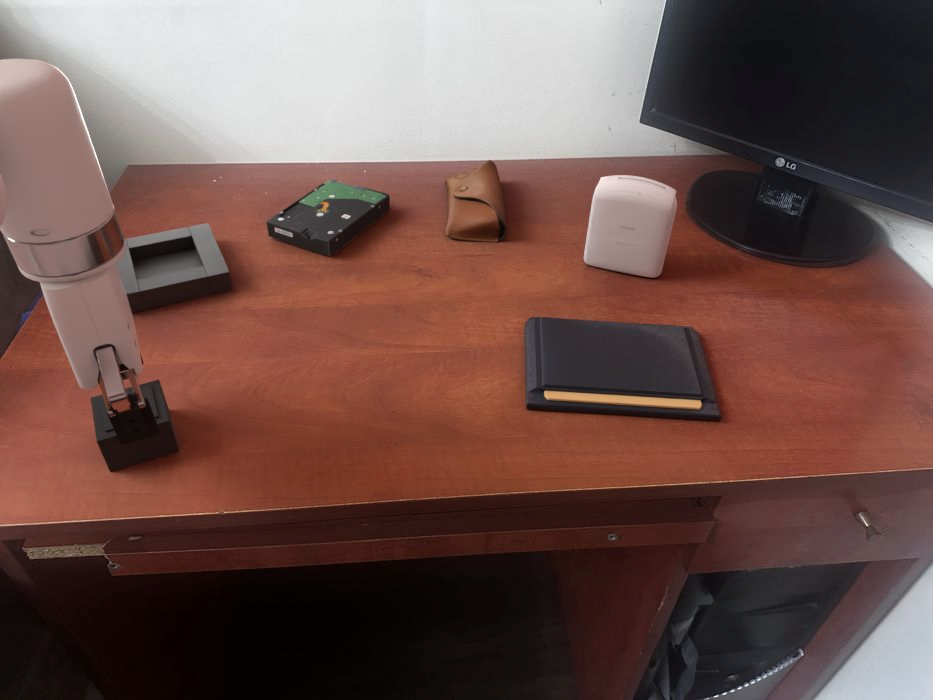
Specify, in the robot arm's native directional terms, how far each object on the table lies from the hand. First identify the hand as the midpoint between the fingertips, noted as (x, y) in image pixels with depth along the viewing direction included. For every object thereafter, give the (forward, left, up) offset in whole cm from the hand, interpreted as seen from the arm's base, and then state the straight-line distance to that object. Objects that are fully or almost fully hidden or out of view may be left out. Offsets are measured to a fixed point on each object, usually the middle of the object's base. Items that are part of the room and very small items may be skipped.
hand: (133, 401), depth 64 cm
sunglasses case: (+48, +27, -5) cm, 56 cm away
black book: (+47, -11, -5) cm, 48 cm away
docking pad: (+6, +27, -5) cm, 28 cm away
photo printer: (+59, +6, -5) cm, 60 cm away
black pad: (-1, 0, -5) cm, 5 cm away
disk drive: (+28, +31, -5) cm, 42 cm away
